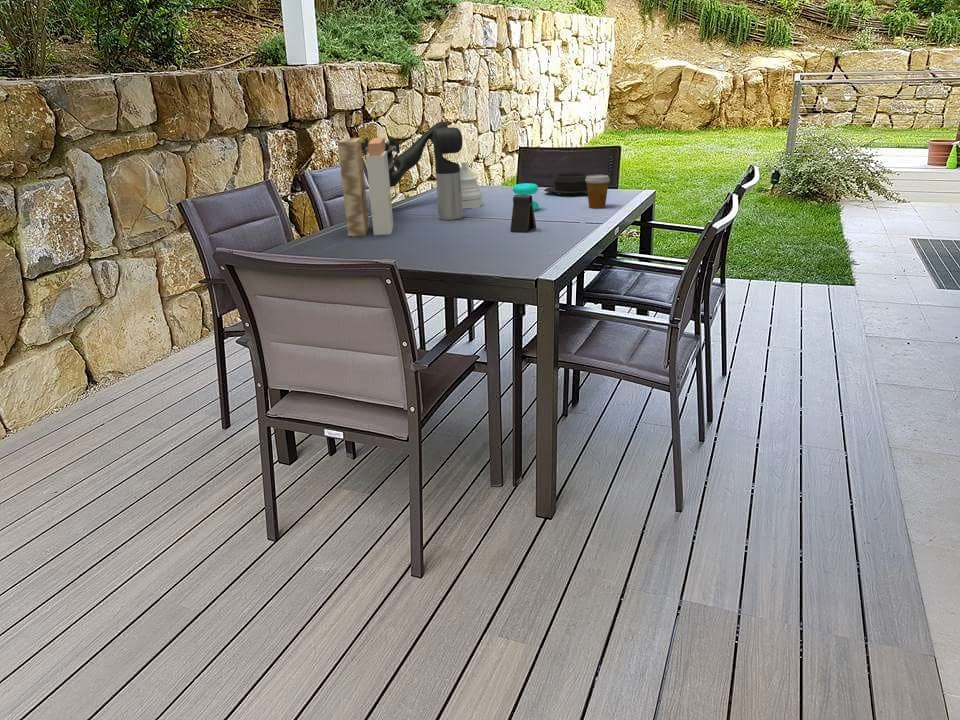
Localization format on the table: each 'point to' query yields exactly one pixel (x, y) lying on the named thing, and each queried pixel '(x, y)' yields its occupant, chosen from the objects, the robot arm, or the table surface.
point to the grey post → (380, 194)
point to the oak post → (353, 186)
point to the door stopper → (522, 214)
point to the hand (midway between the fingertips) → (378, 138)
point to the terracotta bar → (376, 146)
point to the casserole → (569, 184)
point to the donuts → (527, 191)
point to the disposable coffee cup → (597, 190)
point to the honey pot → (469, 188)
